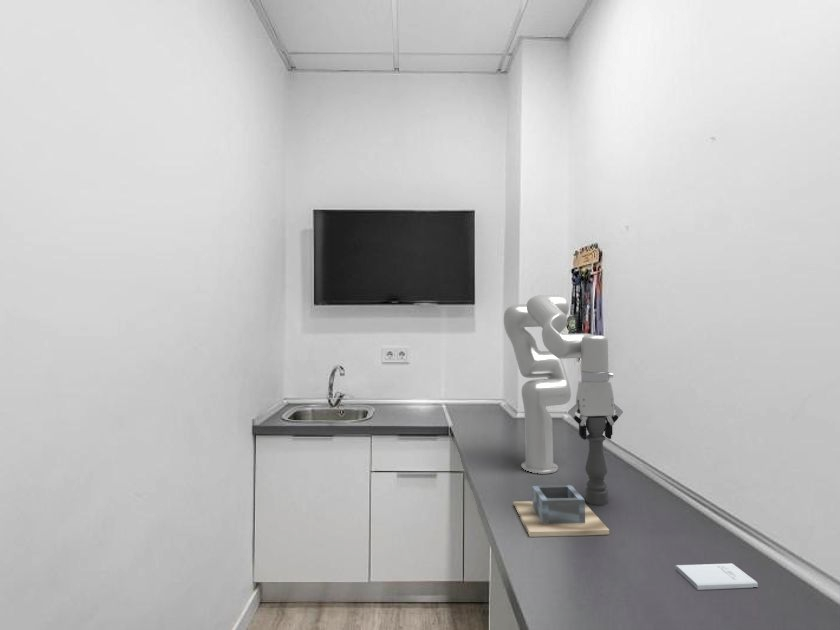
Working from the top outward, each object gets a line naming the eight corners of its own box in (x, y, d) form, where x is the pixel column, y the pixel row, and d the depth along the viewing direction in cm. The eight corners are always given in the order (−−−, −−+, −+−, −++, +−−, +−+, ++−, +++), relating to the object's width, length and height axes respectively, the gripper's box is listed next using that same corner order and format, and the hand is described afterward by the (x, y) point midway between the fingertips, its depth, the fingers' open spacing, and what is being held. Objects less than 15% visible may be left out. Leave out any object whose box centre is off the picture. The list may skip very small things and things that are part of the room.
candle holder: (593, 506, 144) (592, 419, 144) (581, 498, 150) (580, 414, 150) (612, 503, 146) (611, 417, 145) (599, 496, 151) (598, 413, 151)
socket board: (513, 505, 145) (513, 480, 145) (582, 504, 146) (581, 479, 146) (529, 536, 125) (529, 508, 125) (609, 534, 126) (608, 506, 126)
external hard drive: (675, 571, 109) (731, 569, 109) (697, 592, 101) (758, 590, 101) (675, 564, 109) (731, 561, 109) (697, 584, 101) (758, 582, 101)
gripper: (618, 375, 151) (619, 434, 151) (561, 376, 151) (562, 435, 151) (629, 378, 144) (630, 440, 144) (569, 379, 143) (570, 442, 144)
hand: (595, 437), depth 148 cm, fingers open, 6 cm apart
